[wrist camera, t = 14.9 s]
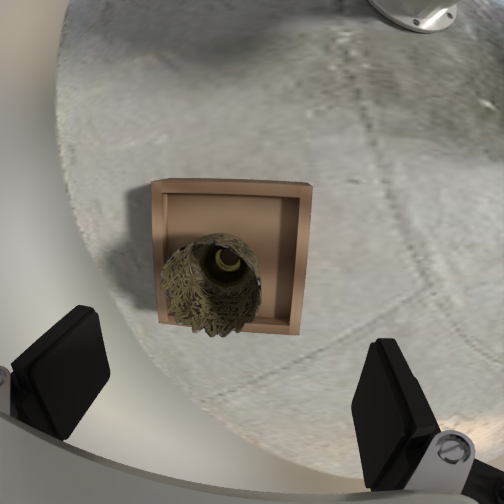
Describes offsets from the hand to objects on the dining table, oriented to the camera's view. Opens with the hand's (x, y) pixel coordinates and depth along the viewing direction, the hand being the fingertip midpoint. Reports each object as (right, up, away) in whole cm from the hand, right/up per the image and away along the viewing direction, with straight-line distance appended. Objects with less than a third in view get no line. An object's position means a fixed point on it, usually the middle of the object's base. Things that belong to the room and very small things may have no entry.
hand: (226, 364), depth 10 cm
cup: (-1, +3, +20) cm, 20 cm away
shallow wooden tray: (-1, +4, +23) cm, 24 cm away
